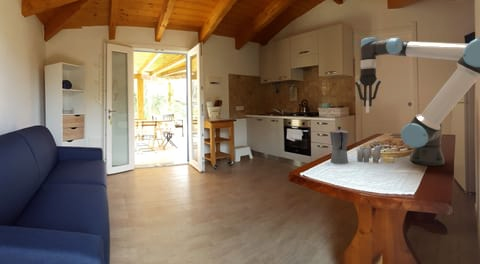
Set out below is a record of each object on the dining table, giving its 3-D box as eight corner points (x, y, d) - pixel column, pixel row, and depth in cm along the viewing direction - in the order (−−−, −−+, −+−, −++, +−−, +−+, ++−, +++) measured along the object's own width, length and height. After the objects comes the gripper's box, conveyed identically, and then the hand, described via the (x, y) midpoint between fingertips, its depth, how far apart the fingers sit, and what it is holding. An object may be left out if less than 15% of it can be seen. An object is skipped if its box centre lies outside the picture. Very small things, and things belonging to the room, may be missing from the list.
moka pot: (345, 160, 164) (345, 124, 161) (353, 167, 149) (353, 128, 146) (327, 160, 165) (327, 125, 162) (333, 167, 150) (333, 129, 147)
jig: (381, 159, 162) (381, 147, 161) (379, 165, 151) (379, 151, 150) (360, 158, 167) (360, 146, 166) (356, 163, 156) (357, 150, 156)
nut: (393, 162, 155) (393, 157, 155) (392, 164, 151) (392, 159, 151) (383, 162, 157) (383, 156, 157) (382, 163, 154) (382, 158, 153)
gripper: (382, 67, 156) (381, 111, 159) (356, 69, 162) (355, 112, 165) (381, 66, 149) (380, 113, 152) (354, 68, 156) (353, 113, 159)
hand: (367, 112), depth 159 cm, fingers closed
